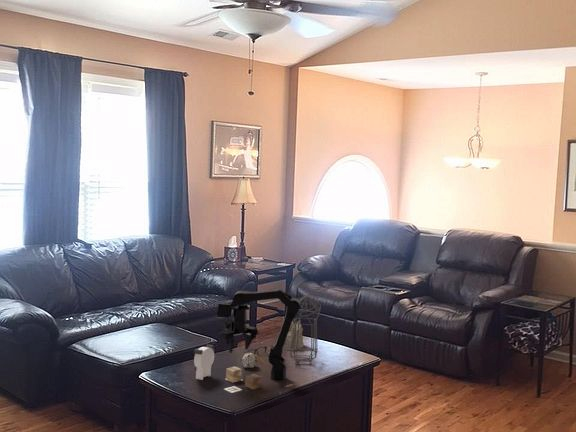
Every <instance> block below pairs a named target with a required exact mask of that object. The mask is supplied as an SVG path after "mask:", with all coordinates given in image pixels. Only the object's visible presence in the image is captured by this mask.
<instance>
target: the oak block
mask: <svg viewBox="0 0 576 432" xmlns="http://www.w3.org/2000/svg"><path fill="white" fill-rule="evenodd" d="M242 370H243V369H242V368H240V367H237V366H231V367H228V368H226V372H225V374H226V376H225V380H226V379H227V380H226V381H228V380H229V381H228V382H230V381H232V382H233V383H236V382H235V381H237V382H239V381H238V380H241V379H242ZM241 381H242V380H241ZM232 382H231V383H232Z"/></svg>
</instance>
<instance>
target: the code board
mask: <svg viewBox="0 0 576 432" xmlns="http://www.w3.org/2000/svg"><path fill="white" fill-rule="evenodd" d="M225 380H226V381H228V382H231V383H236V382H239V381H243V379H242V378H241V380H238V381H235V382H232V381H229V380H227V379H226V378H225ZM224 390H225V391H227V392H228V393H232V394H233V393H237V392H240V391H243V389H241V388H240V387H238V386H236V385H233V386H230V387H226V388H224Z"/></svg>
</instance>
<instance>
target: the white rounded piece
mask: <svg viewBox="0 0 576 432" xmlns="http://www.w3.org/2000/svg"><path fill="white" fill-rule="evenodd" d="M215 347H216V346H215V345H213V344H206V346H202V347H199V348H194V350H193V352H194V356H193V357H194V358H193V359H194V360H193V364H194V371H195V380H201V381H203V380H204V378H206V377H211V374H212V373H211V370H212V365H213V363H214V360H215V352H214V351H215V350H216V349H215Z"/></svg>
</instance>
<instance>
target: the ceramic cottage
mask: <svg viewBox="0 0 576 432" xmlns="http://www.w3.org/2000/svg"><path fill="white" fill-rule="evenodd" d="M296 323H297V324H296V342H295V349H296V344H297V332H298V322H297V321H296ZM301 324H302V323H301V320H300V321H299V333H298V344H297V349H302V348H304V340H303V339H304V336H303V331H304V328H303V325H301ZM293 326H294V323H293V320H292V323H291V326H290V329H289V332H288V334H287V337H286V340H285V343H284V345H283V350H286V351H291V343H292V335H293ZM294 330H295V327H294ZM293 339H294V335H293ZM294 341H295V339H294ZM292 348H293V344H292ZM293 349H294V348H293Z"/></svg>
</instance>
